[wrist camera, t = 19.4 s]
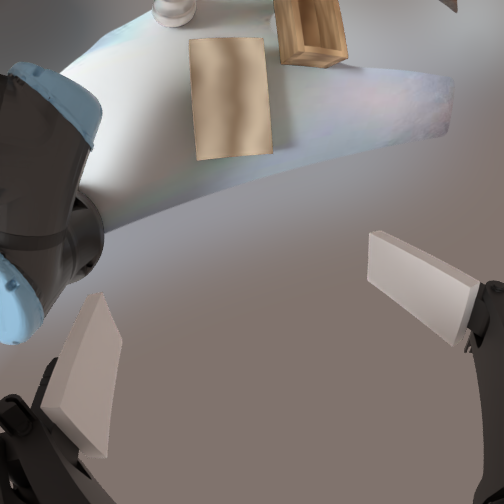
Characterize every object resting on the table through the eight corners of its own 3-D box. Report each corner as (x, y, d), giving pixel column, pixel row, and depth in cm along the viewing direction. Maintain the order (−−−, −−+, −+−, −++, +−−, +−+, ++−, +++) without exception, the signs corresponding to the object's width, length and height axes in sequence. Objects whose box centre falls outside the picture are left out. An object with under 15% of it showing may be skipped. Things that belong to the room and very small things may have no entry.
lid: (196, 160, 36) (197, 160, 34) (188, 44, 30) (189, 39, 28) (268, 153, 38) (273, 153, 36) (259, 42, 32) (263, 38, 30)
